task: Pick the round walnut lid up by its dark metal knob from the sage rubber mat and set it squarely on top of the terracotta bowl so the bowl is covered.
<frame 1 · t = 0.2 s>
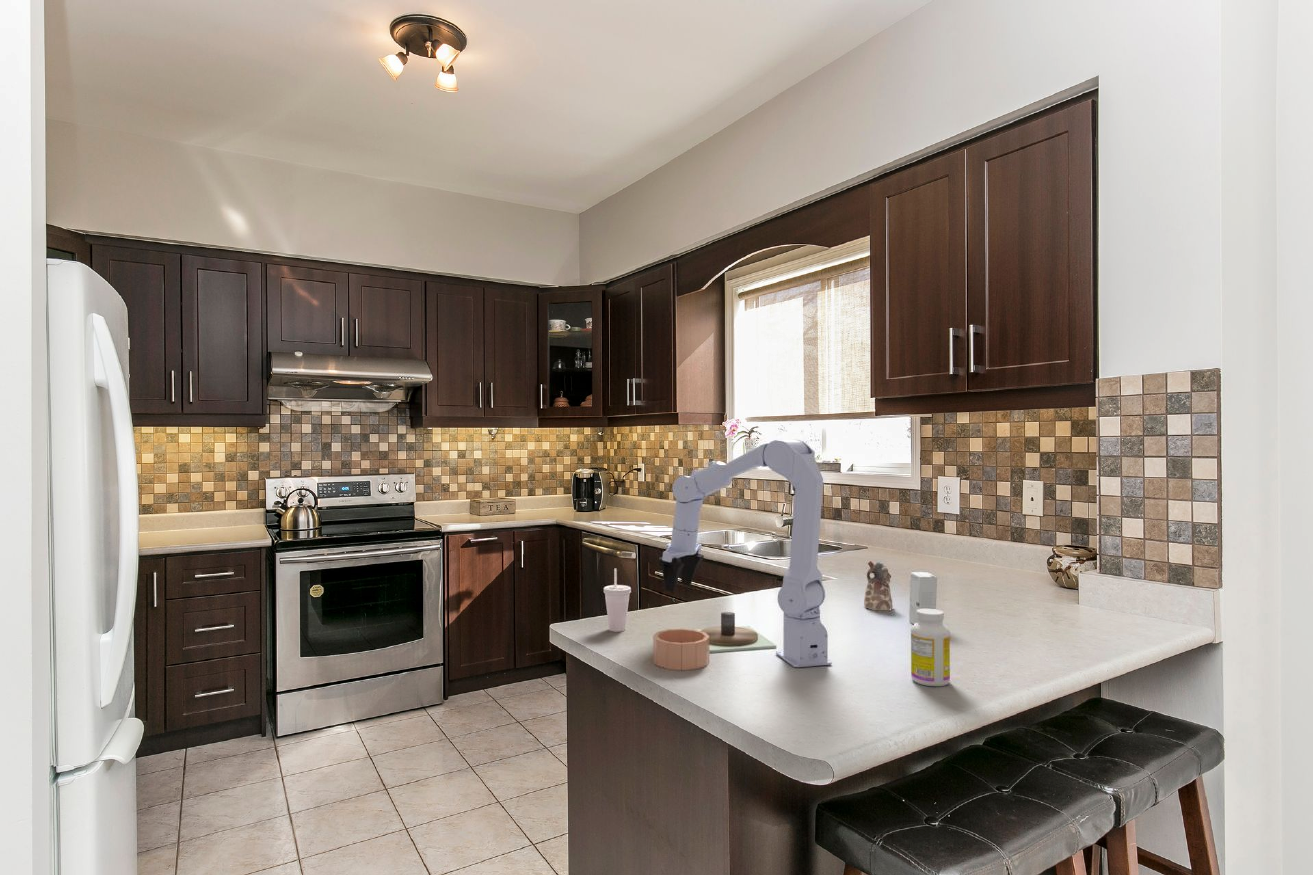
hand: (678, 587, 165), 10 cm above the countertop, tool pointing down, fingers open, 7 cm apart
supplement bottle: (930, 682, 133), on the countertop
skincare box: (922, 625, 172), on the countertop
lid: (727, 637, 160), resting on mat
bowl: (681, 661, 145), on the countertop
mat: (727, 639, 160), on the countertop
figurine: (878, 608, 189), on the countertop
smoothie: (617, 630, 168), on the countertop
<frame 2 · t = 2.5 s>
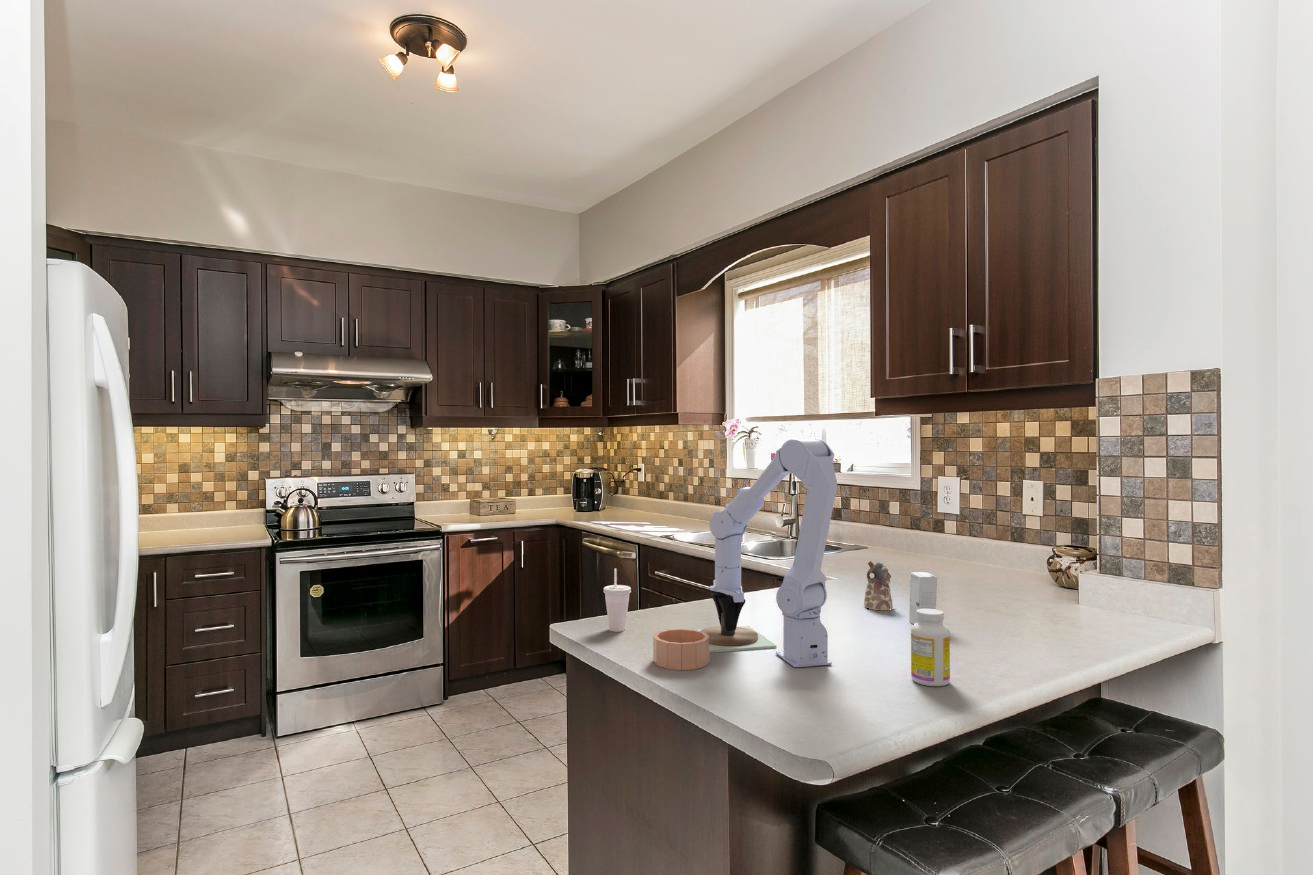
hand: (727, 627, 160), 3 cm above the countertop, tool pointing down, fingers closed on lid, 3 cm apart
lid: (727, 637, 160), resting on mat, touching gripper
everything else where it was.
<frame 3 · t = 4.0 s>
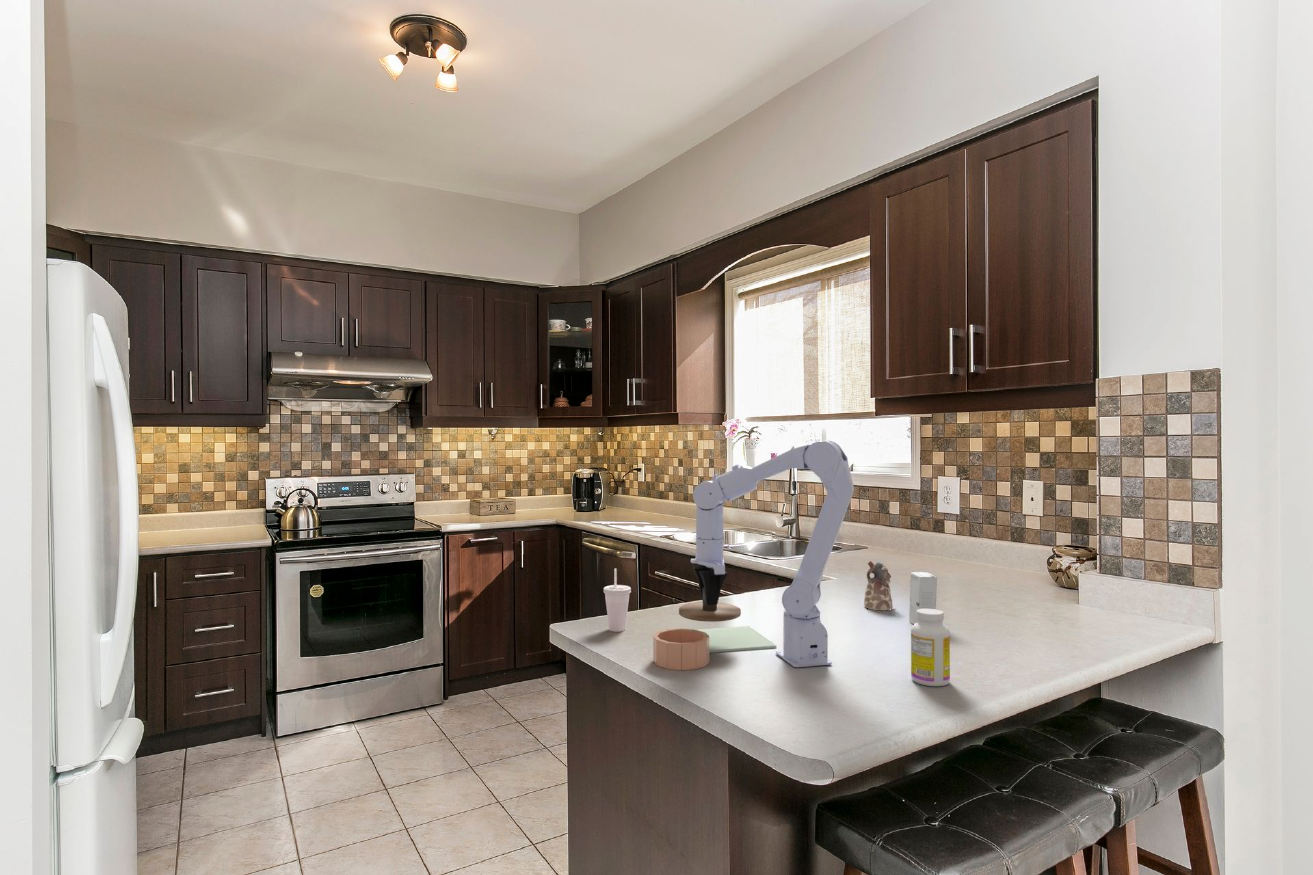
hand: (709, 602, 153), 10 cm above the countertop, tool pointing down, fingers closed on lid, 3 cm apart
lid: (709, 613, 153), point 7 cm above the countertop, touching gripper
everything else where it was.
when the fingers open (8 cm above the countertop, at t = 5.7 s): lid stays where it is, resting on bowl.
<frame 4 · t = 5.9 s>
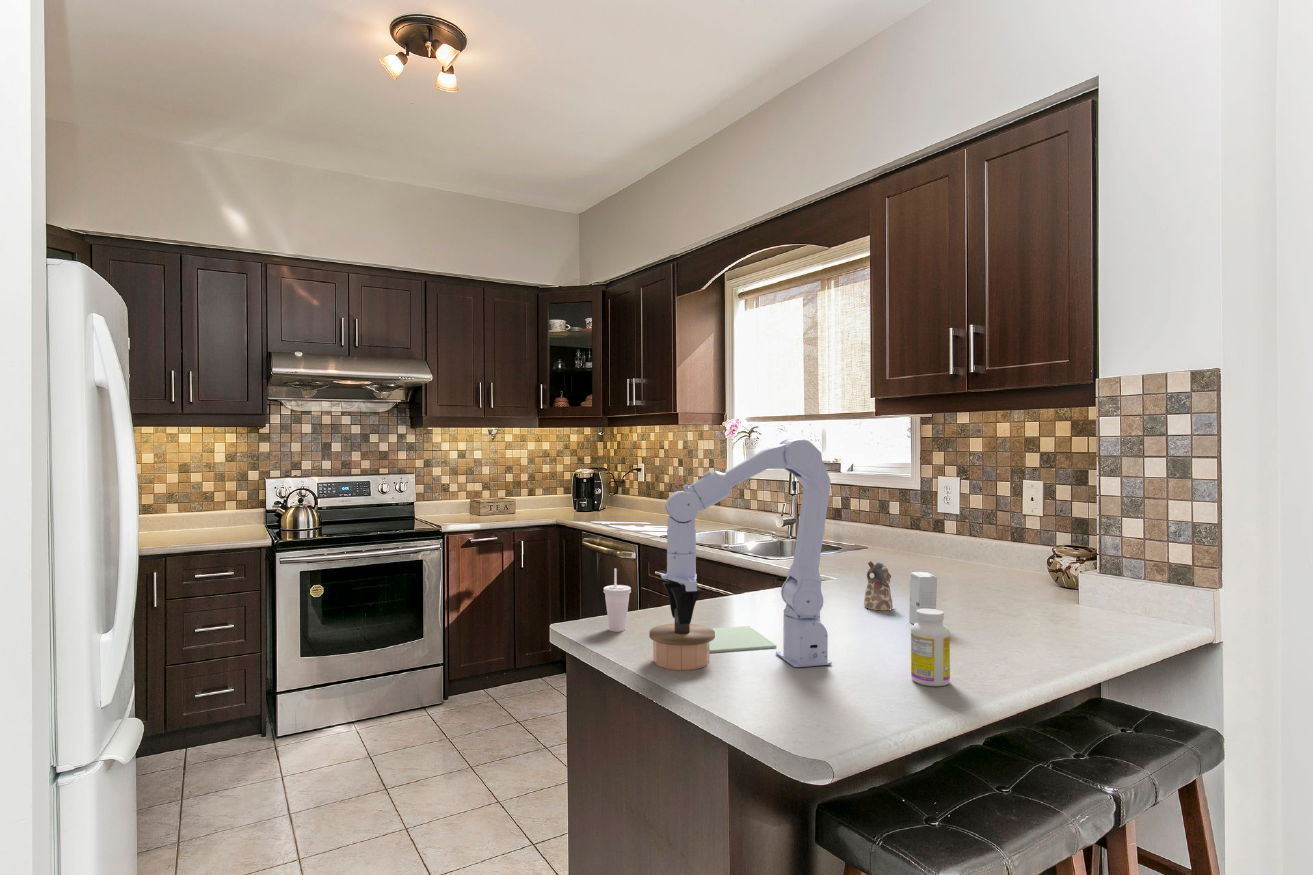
hand: (681, 620, 145), 8 cm above the countertop, tool pointing down, fingers open, 4 cm apart
lid: (682, 635, 145), point 5 cm above the countertop, touching bowl
everything else where it was.
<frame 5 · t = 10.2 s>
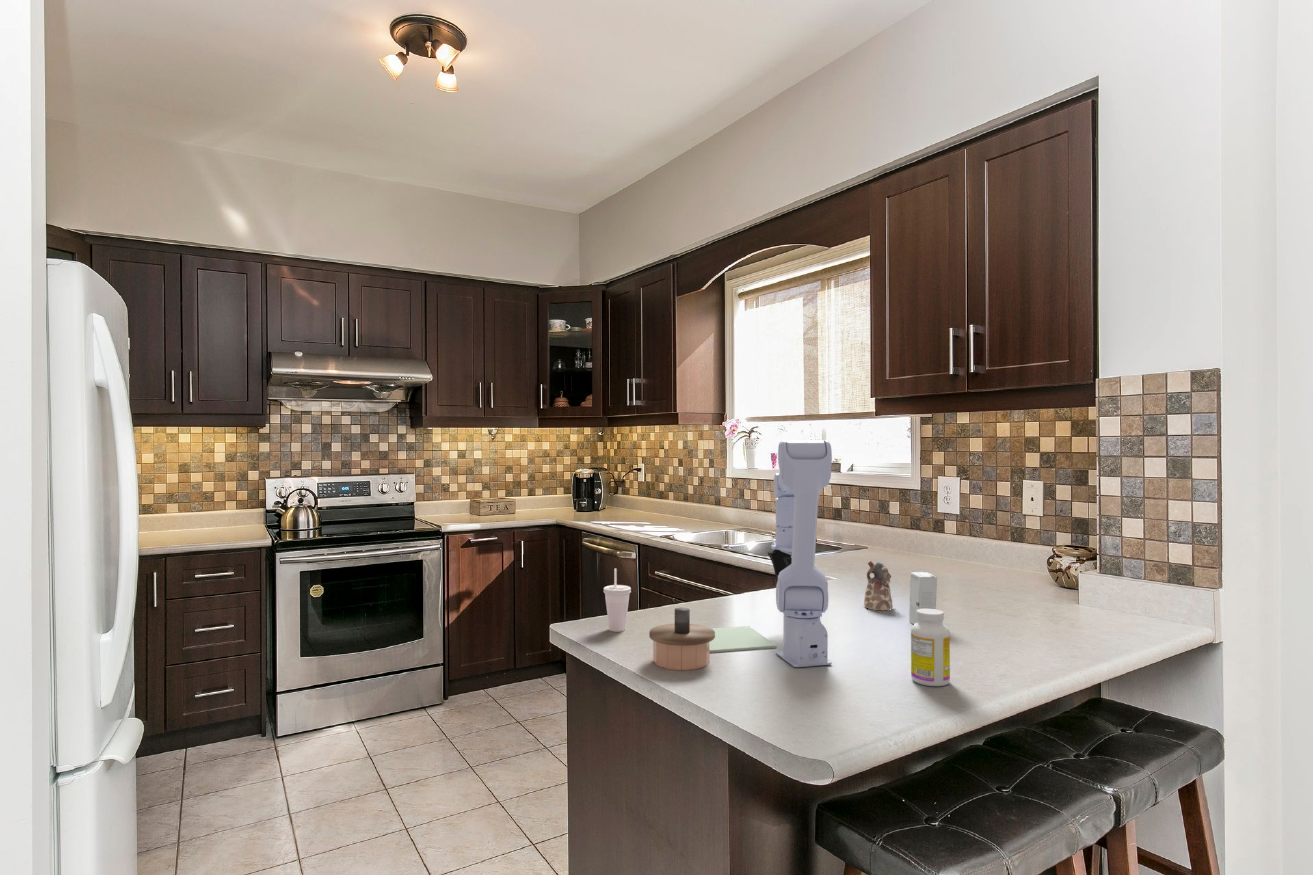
hand: (788, 585, 167), 10 cm above the countertop, tool pointing down, fingers open, 7 cm apart
nothing on the countertop moved.
at the end: lid 0.2 cm from the bowl (horizontally); lid point 5.0 cm above the countertop; lid tilted 0° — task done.
